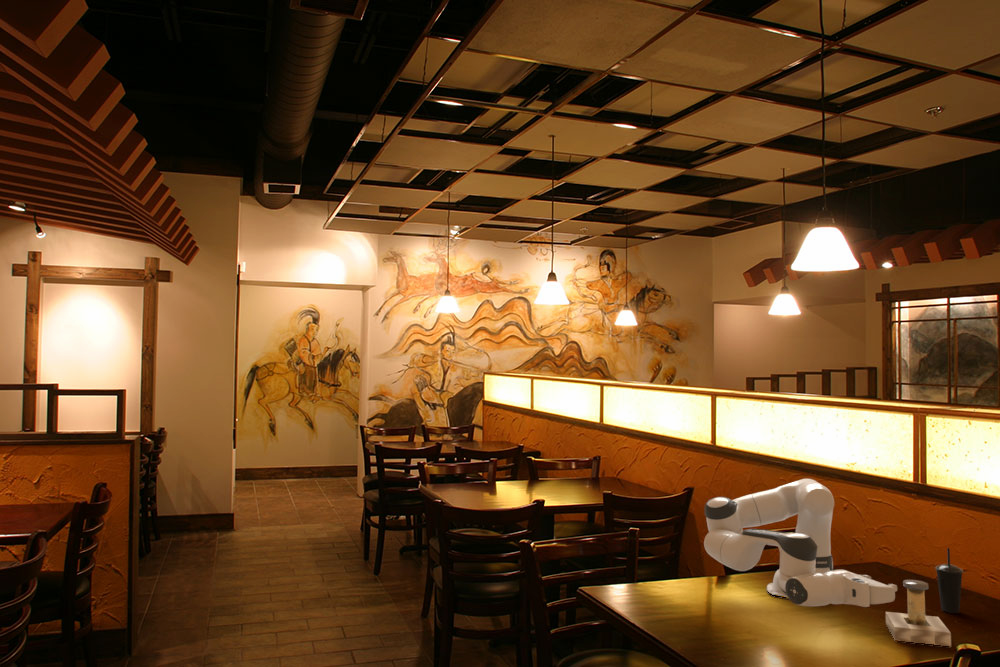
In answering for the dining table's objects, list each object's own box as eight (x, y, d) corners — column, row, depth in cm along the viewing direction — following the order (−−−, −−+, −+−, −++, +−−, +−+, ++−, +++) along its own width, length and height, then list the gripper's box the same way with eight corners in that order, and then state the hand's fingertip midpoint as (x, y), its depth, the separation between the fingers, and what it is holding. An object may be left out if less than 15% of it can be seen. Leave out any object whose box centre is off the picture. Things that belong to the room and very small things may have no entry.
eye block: (894, 641, 204) (894, 626, 204) (885, 625, 217) (885, 611, 217) (951, 647, 199) (950, 632, 199) (938, 630, 212) (938, 616, 213)
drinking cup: (964, 617, 224) (962, 552, 225) (936, 612, 228) (934, 549, 230) (964, 610, 231) (962, 547, 232) (936, 606, 235) (934, 544, 236)
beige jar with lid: (907, 638, 206) (905, 584, 207) (902, 630, 212) (901, 578, 213) (932, 641, 204) (930, 586, 205) (927, 633, 210) (925, 580, 211)
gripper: (816, 587, 211) (855, 584, 215) (869, 609, 192) (911, 604, 195) (816, 566, 212) (854, 562, 215) (868, 585, 192) (910, 581, 196)
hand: (882, 582), depth 205 cm, fingers open, 8 cm apart
